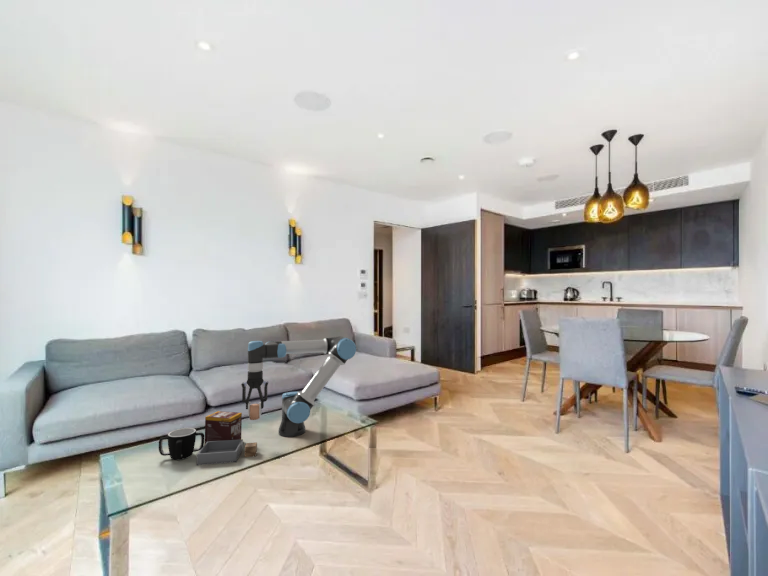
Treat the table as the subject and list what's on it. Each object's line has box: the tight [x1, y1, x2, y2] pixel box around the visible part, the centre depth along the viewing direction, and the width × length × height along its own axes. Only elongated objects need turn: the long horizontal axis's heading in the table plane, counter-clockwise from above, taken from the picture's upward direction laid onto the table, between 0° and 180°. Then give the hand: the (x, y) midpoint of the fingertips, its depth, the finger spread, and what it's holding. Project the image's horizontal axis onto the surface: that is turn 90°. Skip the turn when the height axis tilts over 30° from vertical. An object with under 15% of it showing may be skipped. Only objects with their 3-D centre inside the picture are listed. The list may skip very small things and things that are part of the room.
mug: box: [158, 427, 205, 461], centre depth 177 cm, size 16×16×12 cm
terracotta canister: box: [249, 403, 261, 421], centre depth 190 cm, size 5×5×7 cm
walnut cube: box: [244, 442, 258, 458], centre depth 180 cm, size 5×5×5 cm
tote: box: [196, 438, 244, 466], centre depth 177 cm, size 17×15×5 cm
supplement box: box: [203, 410, 243, 446], centre depth 194 cm, size 10×15×16 cm
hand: (254, 415), depth 190 cm, fingers closed on terracotta canister, 5 cm apart
